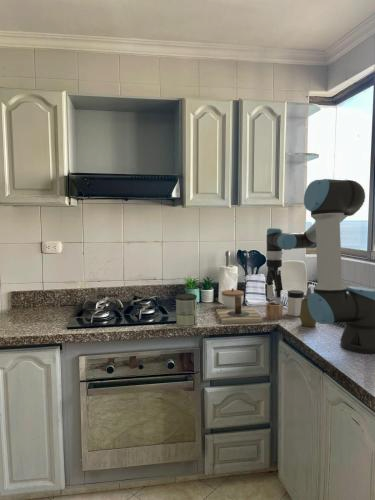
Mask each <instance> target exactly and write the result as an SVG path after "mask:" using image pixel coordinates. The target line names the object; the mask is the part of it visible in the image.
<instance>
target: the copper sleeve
mask: <svg viewBox="0 0 375 500" xmlns="http://www.w3.org/2000/svg"><path fill="white" fill-rule="evenodd" d="M265 318H266V319H268V320H273V321H276V320H277V321H279V320H282V319H283V303H281V304H275V301H270V302H266V303H265Z"/></svg>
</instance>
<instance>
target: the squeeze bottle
mask: <svg viewBox="0 0 375 500" xmlns="http://www.w3.org/2000/svg"><path fill="white" fill-rule="evenodd" d="M312 293H313V292H312V289H311V287H309V286H308V287H307V288H306V293H304V299H303V300H302V302H301V310H300V316H299V320H300V322H301V325H302V326H304V327H307V328H308V327H309V328H310V327H315V326H316V324H317V322H316V321H315V320H314V319H313V318H312V316H311V314H310V312H309V309H308V298H309V295H310V294H312Z"/></svg>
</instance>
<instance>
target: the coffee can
mask: <svg viewBox="0 0 375 500" xmlns="http://www.w3.org/2000/svg"><path fill="white" fill-rule="evenodd" d="M197 297H198V295H197V294H193V293H181V294H180V293H179V294H177V295H175V297H174V298H175V318H176V319H175V322H176V323H175V325H176V324H177V325H178V326H180V328H192V327H193V328H194V327H196V326H197V325H198V312H197V311H198V309H197V305H198V304H197V301H198V300H197ZM177 325H176V326H177ZM178 326H177V327H178Z"/></svg>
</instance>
